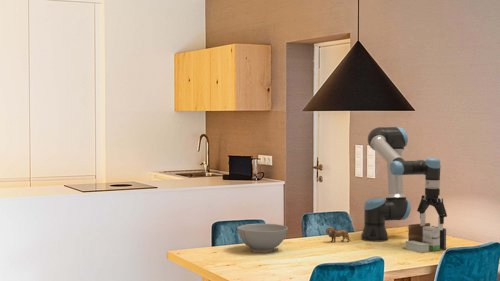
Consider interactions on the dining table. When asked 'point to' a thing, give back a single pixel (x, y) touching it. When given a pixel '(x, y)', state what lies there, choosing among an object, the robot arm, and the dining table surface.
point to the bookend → (442, 238)
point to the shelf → (417, 234)
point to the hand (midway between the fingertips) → (431, 227)
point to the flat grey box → (417, 246)
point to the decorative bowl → (262, 236)
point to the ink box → (431, 237)
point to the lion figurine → (337, 234)
